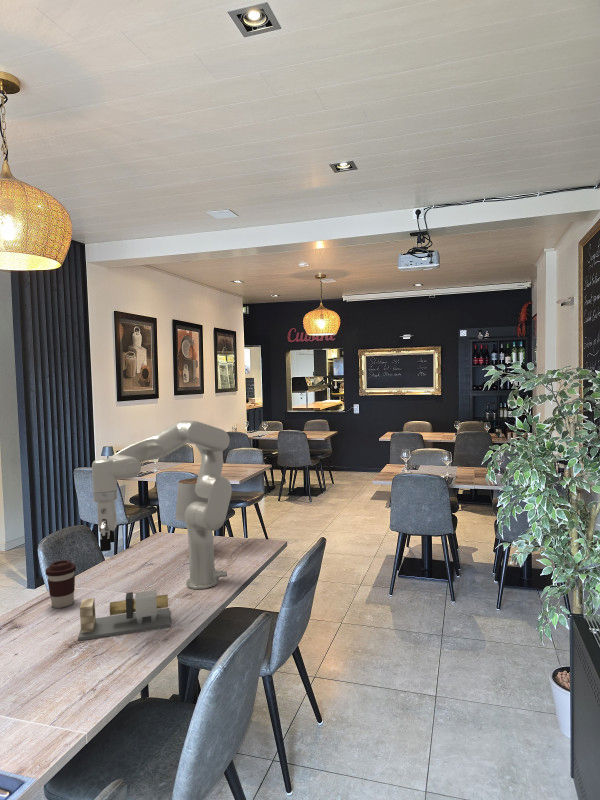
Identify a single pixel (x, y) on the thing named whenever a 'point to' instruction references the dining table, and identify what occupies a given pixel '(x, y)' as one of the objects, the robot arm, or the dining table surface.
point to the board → (125, 625)
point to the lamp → (186, 497)
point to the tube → (129, 605)
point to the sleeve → (146, 606)
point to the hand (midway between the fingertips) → (107, 546)
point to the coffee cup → (61, 583)
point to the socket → (87, 615)
